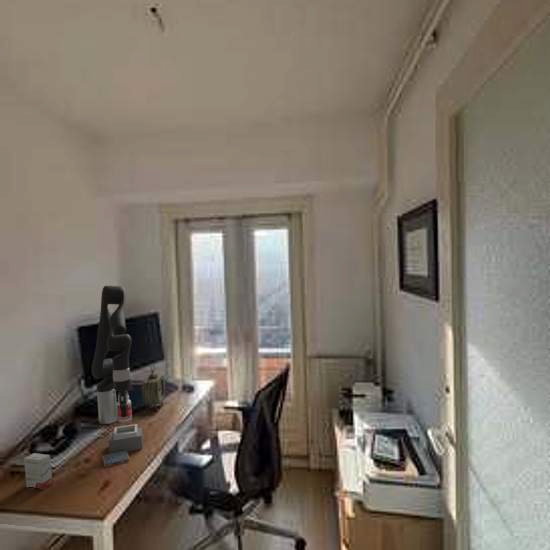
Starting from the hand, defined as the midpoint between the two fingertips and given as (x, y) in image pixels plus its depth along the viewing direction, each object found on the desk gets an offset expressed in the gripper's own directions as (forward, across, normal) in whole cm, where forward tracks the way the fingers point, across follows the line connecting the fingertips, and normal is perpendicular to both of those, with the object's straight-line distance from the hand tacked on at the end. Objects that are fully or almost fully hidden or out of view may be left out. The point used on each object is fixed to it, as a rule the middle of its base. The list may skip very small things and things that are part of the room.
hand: (124, 414), depth 199 cm
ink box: (+15, -23, +31) cm, 42 cm away
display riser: (+15, 0, 0) cm, 15 cm away
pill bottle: (+3, 0, 0) cm, 3 cm away
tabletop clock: (+15, +47, -13) cm, 51 cm away
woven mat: (+16, -12, +4) cm, 20 cm away
